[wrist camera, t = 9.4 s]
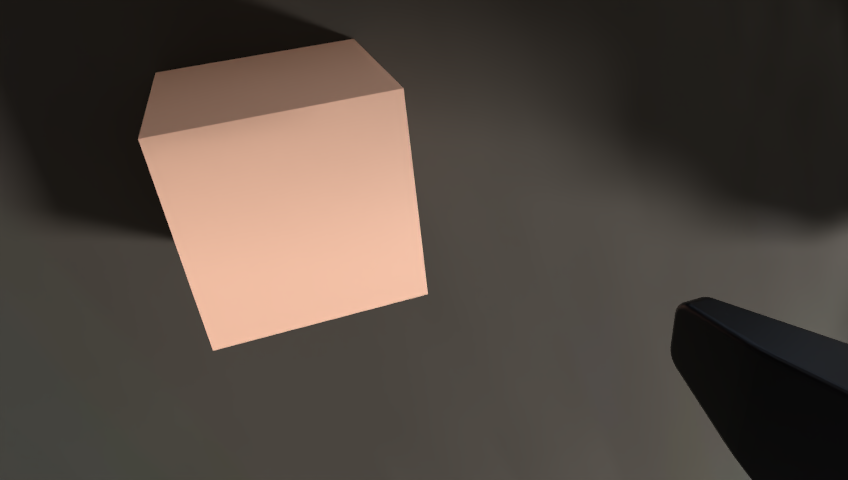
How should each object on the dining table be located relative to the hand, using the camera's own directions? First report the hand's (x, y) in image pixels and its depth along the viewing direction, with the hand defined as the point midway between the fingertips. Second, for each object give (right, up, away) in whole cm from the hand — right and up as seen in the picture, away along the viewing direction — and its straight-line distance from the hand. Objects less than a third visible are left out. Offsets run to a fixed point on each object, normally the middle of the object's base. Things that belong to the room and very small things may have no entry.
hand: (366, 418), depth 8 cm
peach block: (-3, +5, +9) cm, 11 cm away
